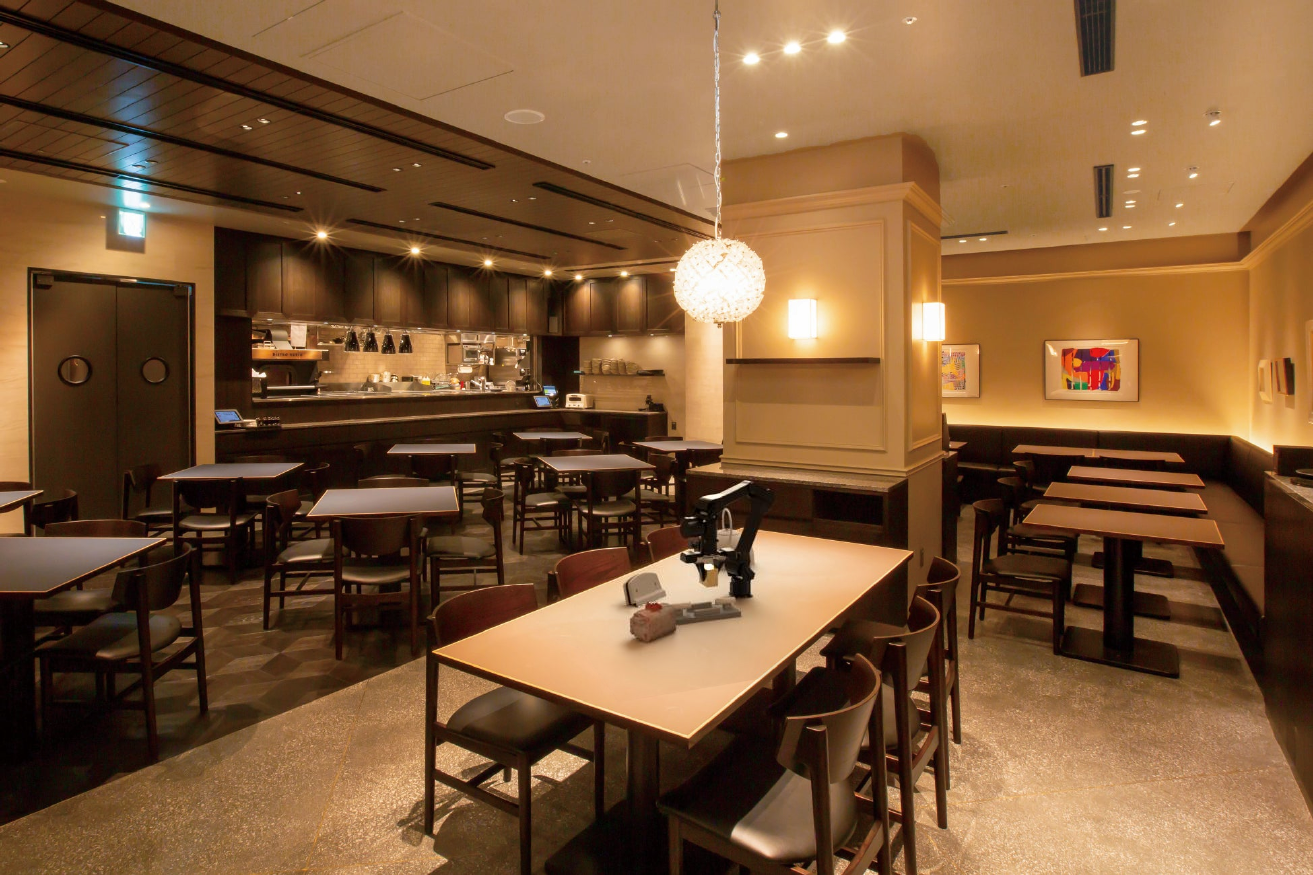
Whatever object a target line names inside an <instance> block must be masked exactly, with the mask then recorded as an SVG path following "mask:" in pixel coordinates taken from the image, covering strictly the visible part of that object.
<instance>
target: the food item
mask: <svg viewBox="0 0 1313 875" xmlns="http://www.w3.org/2000/svg"><path fill="white" fill-rule="evenodd" d="M676 626H677V624H676V615H675V608H674V607H673V606H672V605H670V603H668V602H661V603H658V602H650V603H649V602H648V601H647V604H645V605H644V608H642V609H640V610H637V611H635V612H634V613H633V615H632V616H631V617H630V618H629V628H630V629H629V632H630V634H631V635H632V636H633V637H636V638H637V639H639V640H640V639H641V641H643V642H646V643H650V642H653V641H654V640H656V639H658V638H659V639H660V638H661V637H664V636H667V635H668V634H672V633H674V632H676V631H677V627H676Z"/></svg>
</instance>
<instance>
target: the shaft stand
mask: <svg viewBox="0 0 1313 875" xmlns="http://www.w3.org/2000/svg"><path fill="white" fill-rule="evenodd" d="M735 603H736V598H735V597H734V596H731V597H720V598H715V599H714V603H713V601H703V602H695V603H691V602H690V601H688V602H680V603H672V604H670V603H669V604H670V605H672V606H673V607H674V608H675V615H676V625H677V624H678V625H683V624H684V623H686V624H690V623H691V624H692V623H700V622H699V621H701V622H706V621H713V620H714V621H715V619H716V620H722V619H724V620H725V619H730V618H738V617H742V611H741V610H739V609H738V608H737V607H735V606H733V604H735Z"/></svg>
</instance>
